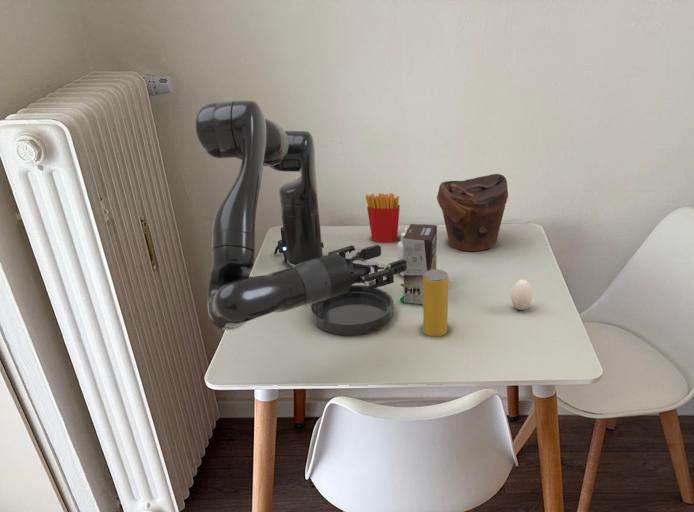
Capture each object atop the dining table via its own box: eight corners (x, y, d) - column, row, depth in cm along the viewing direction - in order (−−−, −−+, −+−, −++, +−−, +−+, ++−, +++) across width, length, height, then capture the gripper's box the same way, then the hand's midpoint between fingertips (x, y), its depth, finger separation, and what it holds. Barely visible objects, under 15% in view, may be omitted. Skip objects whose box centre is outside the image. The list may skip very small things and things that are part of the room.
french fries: (400, 236, 185) (399, 191, 178) (399, 242, 181) (398, 196, 174) (368, 235, 185) (366, 190, 178) (366, 241, 182) (363, 196, 175)
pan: (295, 322, 145) (294, 310, 144) (344, 289, 158) (344, 278, 157) (362, 345, 137) (361, 332, 136) (409, 308, 150) (408, 297, 149)
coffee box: (430, 305, 151) (430, 240, 142) (403, 303, 152) (401, 238, 143) (437, 287, 159) (438, 224, 150) (411, 285, 160) (410, 222, 151)
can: (418, 332, 142) (418, 276, 134) (430, 321, 145) (431, 267, 138) (439, 338, 139) (440, 282, 132) (451, 328, 143) (453, 272, 136)
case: (422, 245, 179) (422, 181, 169) (466, 224, 192) (469, 162, 182) (474, 264, 170) (477, 196, 160) (518, 240, 182) (523, 176, 172)
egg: (524, 302, 152) (527, 273, 148) (534, 312, 149) (537, 282, 144) (506, 306, 151) (508, 277, 147) (516, 315, 147) (518, 286, 143)
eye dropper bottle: (415, 268, 167) (415, 224, 161) (414, 278, 163) (414, 233, 156) (398, 268, 168) (397, 224, 161) (397, 278, 163) (396, 233, 156)
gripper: (338, 274, 111) (414, 250, 119) (297, 247, 120) (370, 227, 129) (340, 313, 115) (414, 288, 123) (301, 284, 124) (372, 262, 133)
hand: (392, 257), depth 126 cm, fingers open, 8 cm apart
